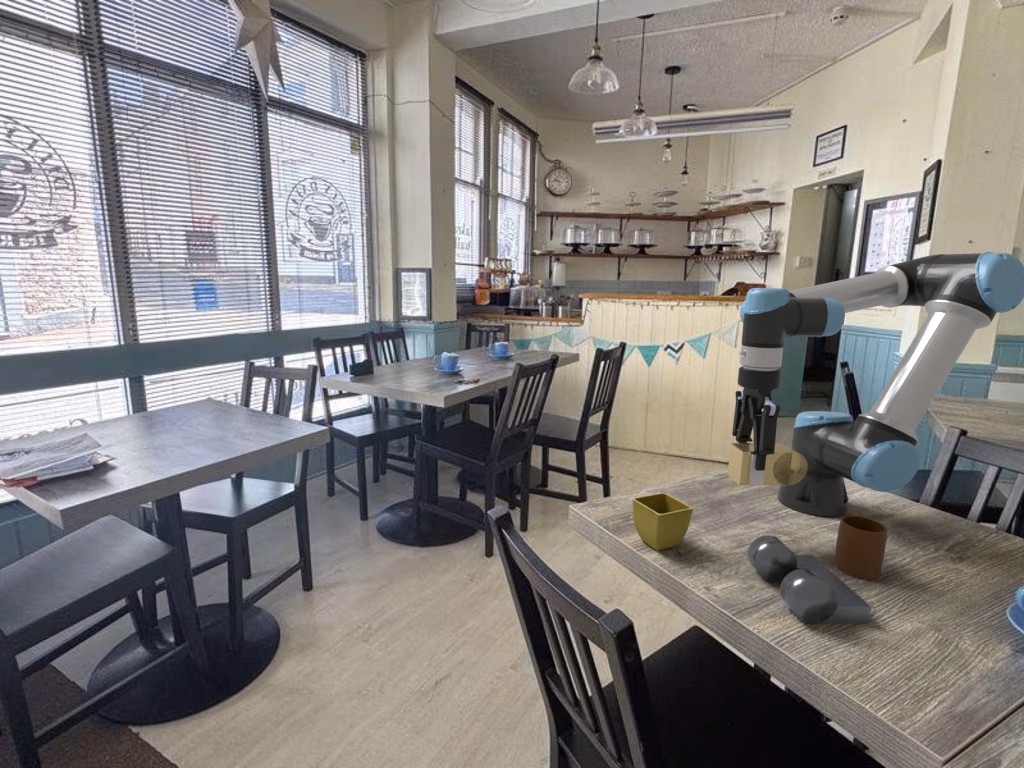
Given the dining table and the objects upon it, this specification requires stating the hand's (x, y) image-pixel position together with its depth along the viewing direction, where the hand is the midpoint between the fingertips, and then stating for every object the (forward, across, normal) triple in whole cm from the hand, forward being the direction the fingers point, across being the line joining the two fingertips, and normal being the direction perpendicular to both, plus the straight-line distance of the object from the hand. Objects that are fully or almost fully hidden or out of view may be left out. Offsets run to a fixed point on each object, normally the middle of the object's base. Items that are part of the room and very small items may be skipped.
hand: (748, 478), depth 110 cm
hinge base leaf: (+14, +20, +1) cm, 24 cm away
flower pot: (+14, +2, -18) cm, 23 cm away
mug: (+14, +10, +18) cm, 25 cm away
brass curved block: (0, 0, +4) cm, 4 cm away
